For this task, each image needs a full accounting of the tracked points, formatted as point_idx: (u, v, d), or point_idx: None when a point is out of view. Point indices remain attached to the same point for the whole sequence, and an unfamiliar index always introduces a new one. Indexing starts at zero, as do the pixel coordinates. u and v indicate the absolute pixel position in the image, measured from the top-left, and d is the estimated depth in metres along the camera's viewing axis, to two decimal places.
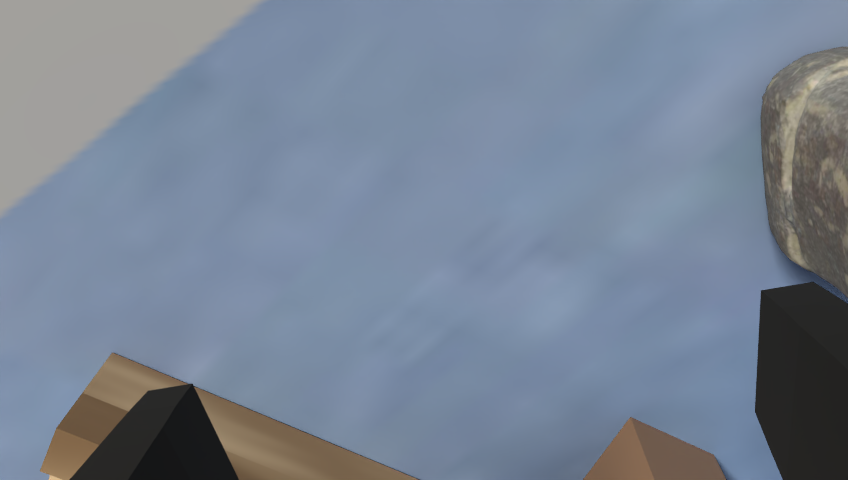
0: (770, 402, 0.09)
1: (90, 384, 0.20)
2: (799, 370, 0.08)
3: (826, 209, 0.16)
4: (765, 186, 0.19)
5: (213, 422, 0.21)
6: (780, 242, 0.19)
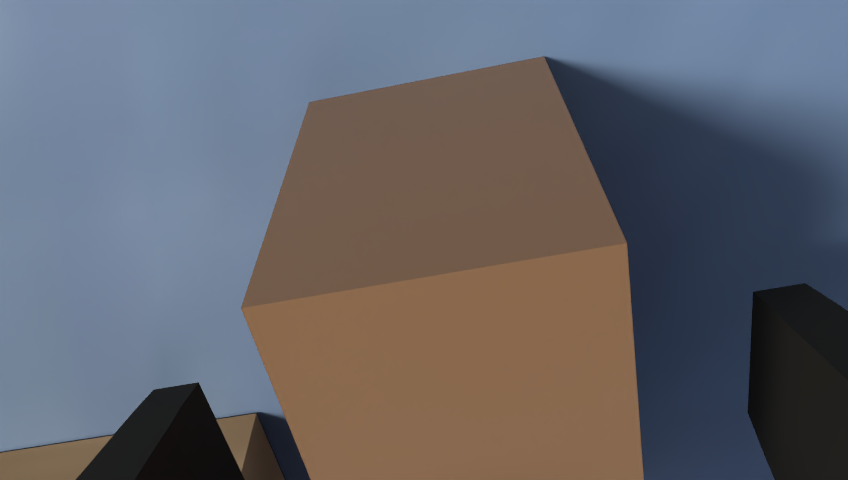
0: (762, 403, 0.09)
1: None
2: (790, 371, 0.08)
3: None
4: None
5: None
6: None
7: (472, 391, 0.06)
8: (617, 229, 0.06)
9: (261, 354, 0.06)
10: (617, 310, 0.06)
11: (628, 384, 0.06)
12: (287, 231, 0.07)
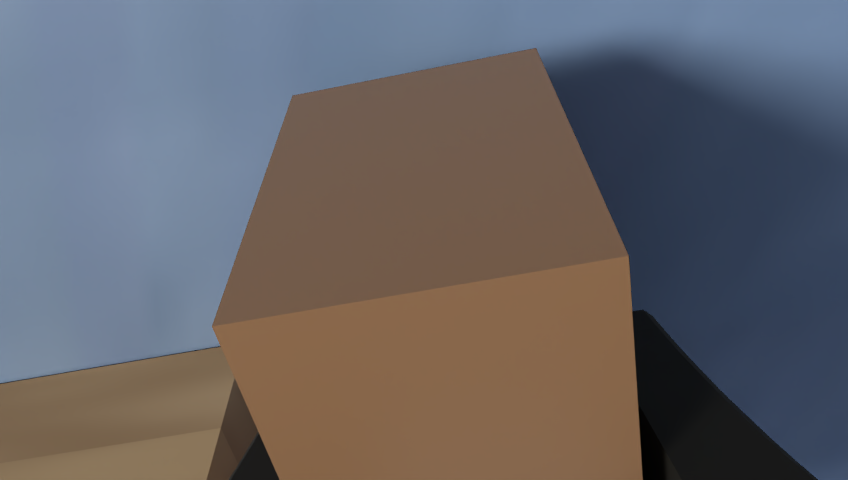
0: None
1: None
2: None
3: None
4: None
5: None
6: None
7: (462, 413, 0.06)
8: (618, 240, 0.05)
9: (235, 375, 0.06)
10: (618, 327, 0.06)
11: (629, 404, 0.06)
12: (264, 240, 0.06)
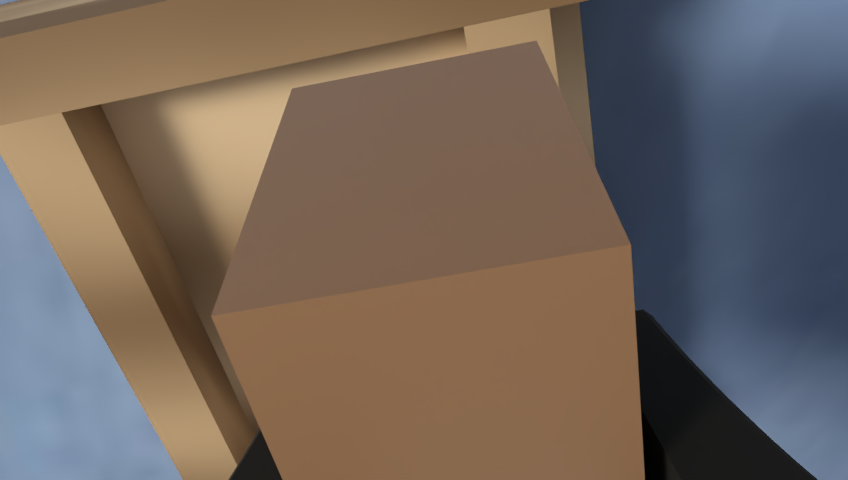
0: None
1: None
2: None
3: None
4: None
5: None
6: None
7: (463, 403, 0.06)
8: (620, 229, 0.05)
9: (234, 365, 0.06)
10: (620, 316, 0.06)
11: (631, 395, 0.06)
12: (263, 231, 0.06)
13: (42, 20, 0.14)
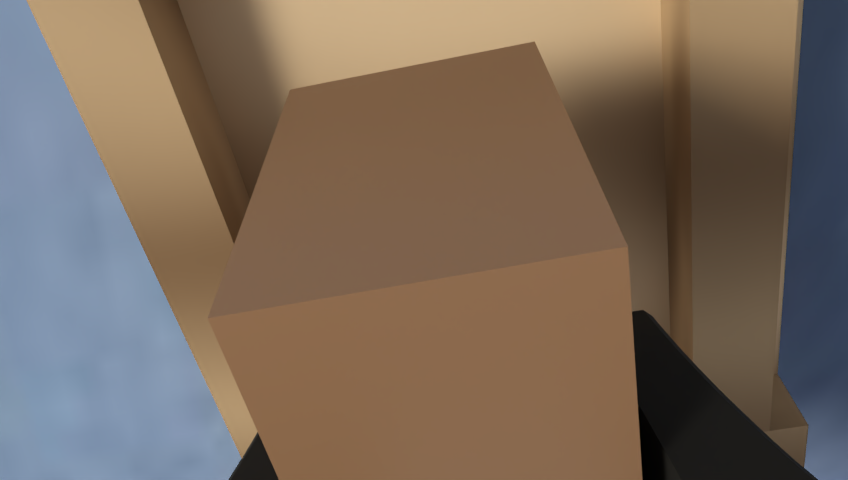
0: None
1: None
2: None
3: None
4: None
5: None
6: None
7: (460, 405, 0.06)
8: (617, 231, 0.05)
9: (231, 367, 0.06)
10: (617, 319, 0.06)
11: (628, 397, 0.06)
12: (260, 232, 0.06)
13: None
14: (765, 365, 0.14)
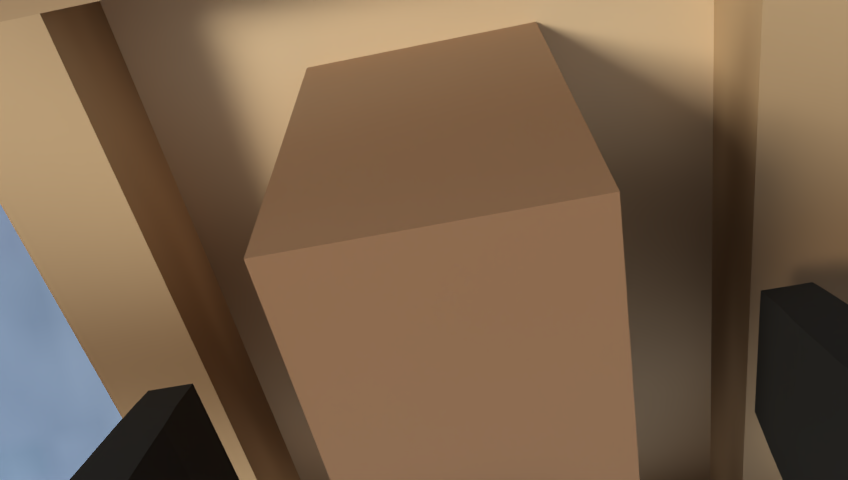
0: (770, 402, 0.09)
1: None
2: (799, 370, 0.08)
3: None
4: None
5: None
6: None
7: (470, 342, 0.07)
8: (610, 179, 0.06)
9: (263, 305, 0.06)
10: (610, 259, 0.06)
11: (621, 333, 0.07)
12: (287, 188, 0.07)
13: None
14: None
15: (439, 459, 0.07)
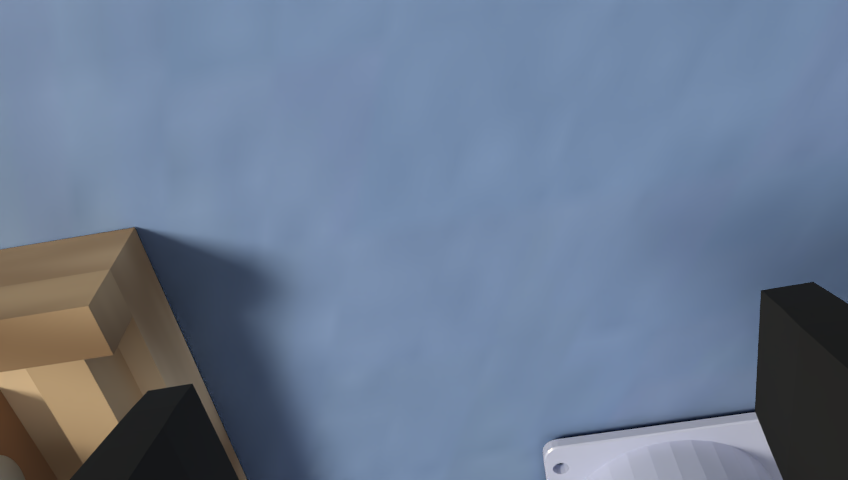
0: (770, 402, 0.09)
1: None
2: (799, 370, 0.08)
3: None
4: None
5: None
6: None
7: None
8: None
9: None
10: None
11: None
12: None
13: None
14: None
15: None
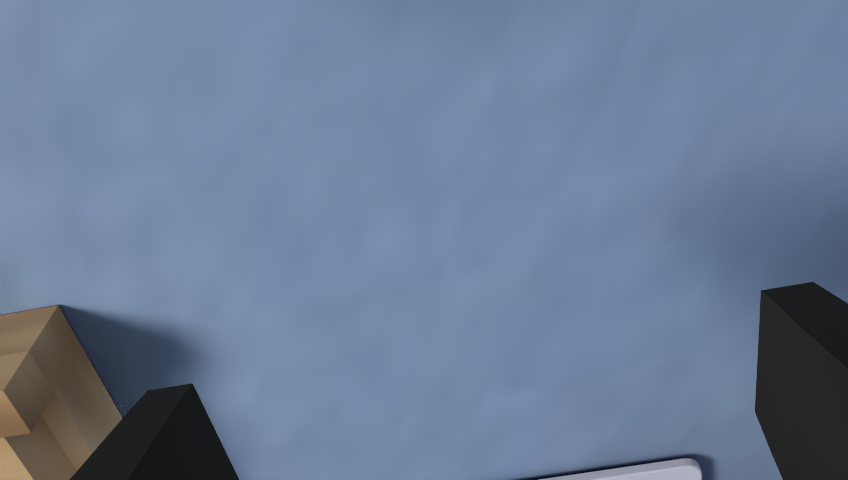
0: (770, 402, 0.09)
1: None
2: (799, 370, 0.08)
3: None
4: None
5: None
6: None
7: None
8: None
9: None
10: None
11: None
12: None
13: None
14: None
15: None
